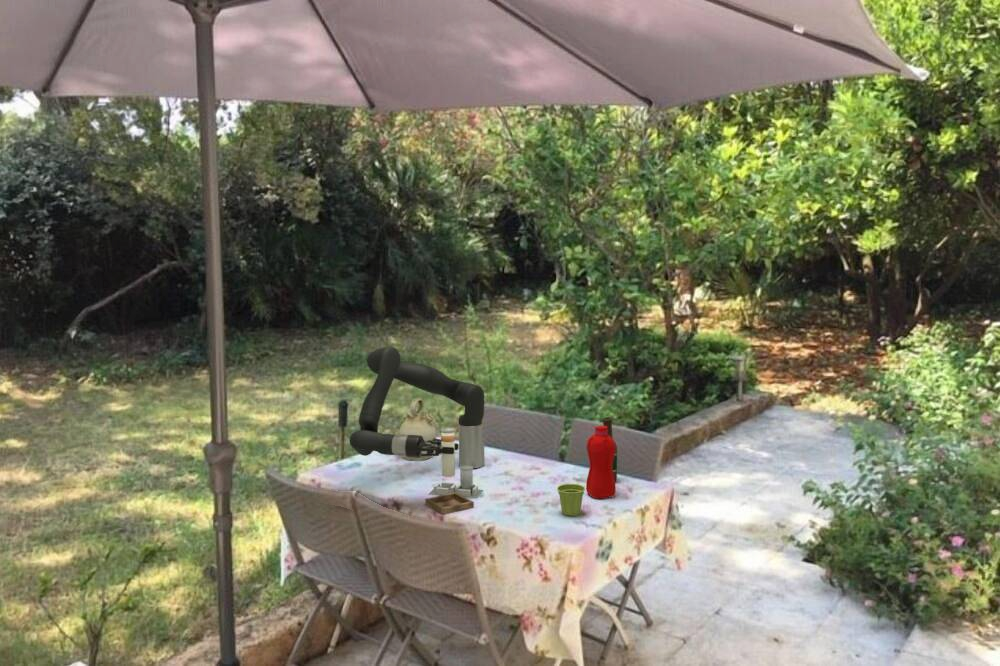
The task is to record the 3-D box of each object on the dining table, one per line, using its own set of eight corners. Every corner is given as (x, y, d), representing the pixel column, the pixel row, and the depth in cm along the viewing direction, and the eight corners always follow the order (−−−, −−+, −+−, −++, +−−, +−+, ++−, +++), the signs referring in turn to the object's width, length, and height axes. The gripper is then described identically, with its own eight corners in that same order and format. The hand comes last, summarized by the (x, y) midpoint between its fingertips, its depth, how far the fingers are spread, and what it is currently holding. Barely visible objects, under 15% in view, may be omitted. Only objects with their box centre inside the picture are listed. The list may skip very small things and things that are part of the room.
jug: (444, 456, 338) (443, 397, 335) (415, 464, 327) (414, 403, 323) (420, 449, 348) (418, 392, 345) (391, 457, 337) (390, 397, 334)
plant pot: (551, 512, 272) (551, 487, 271) (572, 506, 277) (572, 481, 276) (569, 520, 264) (569, 494, 263) (591, 514, 270) (591, 488, 268)
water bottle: (604, 488, 296) (604, 420, 292) (618, 497, 285) (619, 427, 282) (581, 491, 293) (581, 423, 289) (595, 500, 282) (595, 430, 279)
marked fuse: (450, 472, 278) (450, 426, 276) (457, 475, 274) (457, 429, 272) (439, 474, 275) (438, 428, 273) (445, 477, 271) (445, 431, 269)
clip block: (427, 496, 288) (427, 488, 288) (435, 488, 297) (435, 480, 296) (477, 500, 284) (476, 492, 283) (483, 492, 292) (483, 484, 292)
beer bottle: (612, 485, 298) (612, 421, 295) (592, 482, 303) (593, 418, 299) (620, 479, 305) (621, 417, 302) (601, 476, 309) (602, 414, 306)
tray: (455, 499, 284) (455, 492, 284) (473, 509, 275) (473, 501, 274) (425, 506, 278) (425, 498, 278) (442, 517, 268) (442, 509, 268)
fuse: (468, 490, 292) (468, 463, 291) (475, 493, 289) (475, 466, 287) (457, 492, 290) (457, 465, 288) (464, 496, 286) (464, 468, 285)
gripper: (400, 440, 269) (449, 443, 265) (414, 429, 283) (462, 432, 279) (400, 462, 270) (449, 465, 266) (415, 450, 284) (462, 453, 280)
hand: (455, 448), depth 273 cm, fingers closed on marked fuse, 4 cm apart
